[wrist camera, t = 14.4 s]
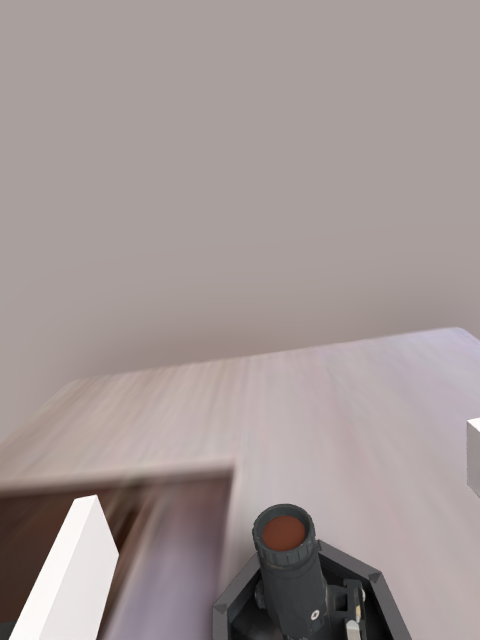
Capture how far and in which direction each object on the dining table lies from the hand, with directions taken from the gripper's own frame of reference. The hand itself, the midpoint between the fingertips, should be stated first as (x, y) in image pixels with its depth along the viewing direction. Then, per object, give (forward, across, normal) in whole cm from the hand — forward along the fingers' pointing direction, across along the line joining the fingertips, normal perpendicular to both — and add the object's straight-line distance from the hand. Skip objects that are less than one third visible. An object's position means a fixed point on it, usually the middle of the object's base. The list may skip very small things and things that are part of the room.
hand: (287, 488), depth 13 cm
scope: (+15, +1, -32) cm, 35 cm away
